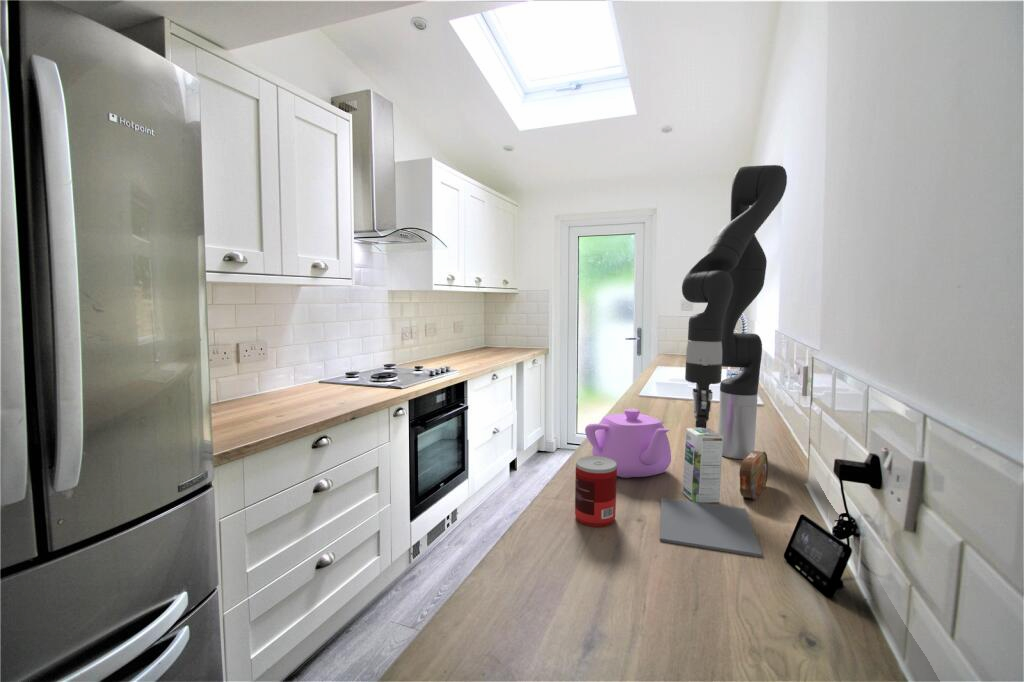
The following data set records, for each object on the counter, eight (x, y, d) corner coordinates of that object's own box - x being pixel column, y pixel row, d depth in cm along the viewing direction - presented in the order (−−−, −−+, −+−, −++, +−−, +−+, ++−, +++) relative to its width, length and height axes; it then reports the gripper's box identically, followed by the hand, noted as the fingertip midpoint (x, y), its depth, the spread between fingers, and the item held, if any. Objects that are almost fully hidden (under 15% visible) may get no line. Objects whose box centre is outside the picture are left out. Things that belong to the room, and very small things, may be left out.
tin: (751, 505, 97) (754, 465, 96) (735, 501, 99) (737, 462, 98) (768, 484, 108) (770, 448, 108) (753, 480, 111) (755, 445, 110)
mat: (661, 499, 99) (661, 497, 99) (745, 510, 94) (745, 508, 94) (659, 540, 82) (660, 538, 82) (762, 557, 77) (762, 554, 77)
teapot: (570, 463, 121) (571, 405, 120) (642, 455, 127) (643, 400, 126) (615, 498, 100) (617, 428, 98) (698, 487, 106) (701, 422, 105)
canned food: (617, 512, 93) (619, 458, 92) (612, 531, 85) (614, 472, 85) (579, 506, 95) (580, 453, 95) (570, 524, 88) (572, 466, 87)
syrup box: (681, 492, 103) (684, 427, 102) (707, 491, 103) (710, 427, 102) (693, 503, 97) (696, 435, 96) (721, 503, 98) (724, 434, 97)
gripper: (684, 356, 113) (681, 427, 114) (687, 363, 100) (683, 443, 102) (718, 358, 111) (715, 430, 112) (725, 365, 98) (721, 446, 99)
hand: (700, 436), depth 107 cm, fingers closed
